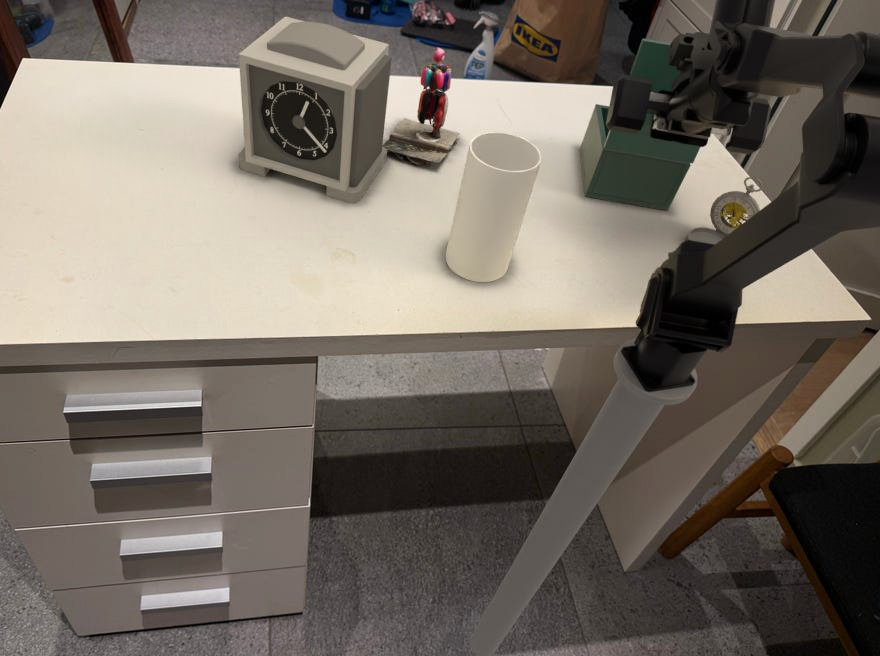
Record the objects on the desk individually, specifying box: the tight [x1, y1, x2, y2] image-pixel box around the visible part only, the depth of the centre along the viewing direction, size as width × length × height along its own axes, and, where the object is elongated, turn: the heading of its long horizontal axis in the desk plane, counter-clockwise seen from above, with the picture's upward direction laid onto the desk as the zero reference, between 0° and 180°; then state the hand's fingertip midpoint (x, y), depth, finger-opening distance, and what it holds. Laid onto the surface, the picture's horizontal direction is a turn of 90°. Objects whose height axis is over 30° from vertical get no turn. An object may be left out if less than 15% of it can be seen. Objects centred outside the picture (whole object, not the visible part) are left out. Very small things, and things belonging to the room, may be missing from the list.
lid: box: [604, 38, 701, 164], centre depth 88 cm, size 14×13×1 cm
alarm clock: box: [237, 16, 393, 204], centre depth 89 cm, size 18×13×18 cm
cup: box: [445, 131, 542, 283], centre depth 80 cm, size 8×8×16 cm
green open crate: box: [579, 103, 691, 211], centre depth 100 cm, size 14×13×8 cm
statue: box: [382, 47, 461, 166], centre depth 98 cm, size 11×9×15 cm
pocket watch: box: [686, 176, 764, 244], centre depth 91 cm, size 8×8×10 cm
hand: (660, 134), depth 89 cm, fingers closed
